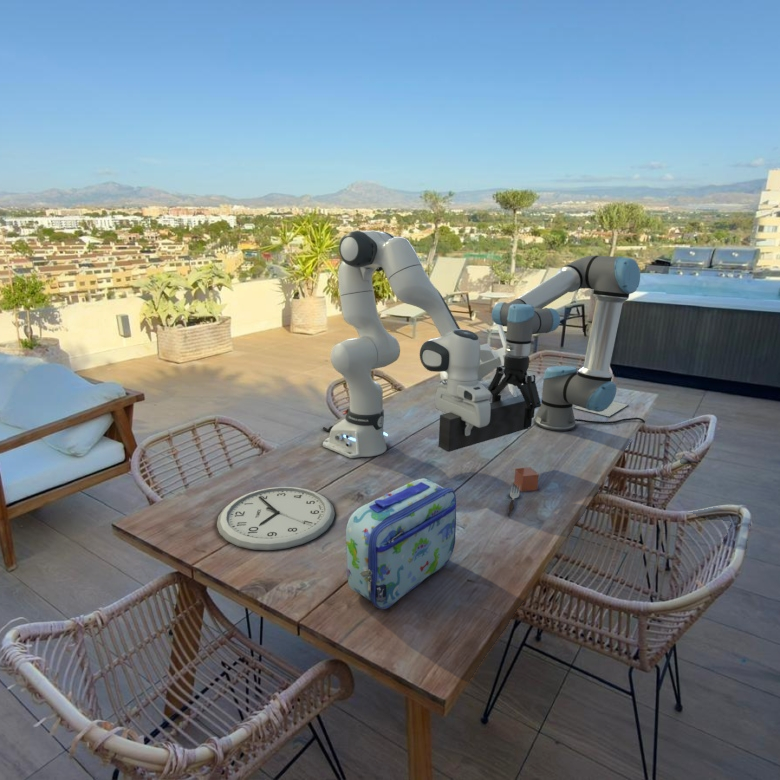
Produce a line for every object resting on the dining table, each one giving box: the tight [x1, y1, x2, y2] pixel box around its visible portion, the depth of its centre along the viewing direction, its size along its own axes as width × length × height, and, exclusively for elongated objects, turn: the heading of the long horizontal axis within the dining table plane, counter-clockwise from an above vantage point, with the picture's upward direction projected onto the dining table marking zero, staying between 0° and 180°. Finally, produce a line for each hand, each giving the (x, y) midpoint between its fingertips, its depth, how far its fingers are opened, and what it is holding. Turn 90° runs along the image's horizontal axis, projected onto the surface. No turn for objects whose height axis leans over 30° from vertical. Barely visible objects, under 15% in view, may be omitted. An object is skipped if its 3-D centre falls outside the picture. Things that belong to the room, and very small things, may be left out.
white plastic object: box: [439, 323, 523, 397], centre depth 245 cm, size 37×45×31 cm
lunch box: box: [345, 477, 457, 610], centre depth 110 cm, size 26×11×21 cm, turn 134°
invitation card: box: [573, 400, 629, 418], centre depth 226 cm, size 21×1×15 cm
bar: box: [438, 395, 529, 453], centre depth 160 cm, size 34×4×10 cm, turn 125°
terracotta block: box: [513, 466, 540, 492], centre depth 154 cm, size 5×5×5 cm
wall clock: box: [216, 486, 336, 551], centre depth 136 cm, size 30×2×30 cm
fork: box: [507, 483, 521, 517], centre depth 145 cm, size 3×16×2 cm, turn 160°
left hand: (459, 431), depth 154 cm, fingers closed on bar, 4 cm apart
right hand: (511, 420), depth 166 cm, fingers open, 13 cm apart
